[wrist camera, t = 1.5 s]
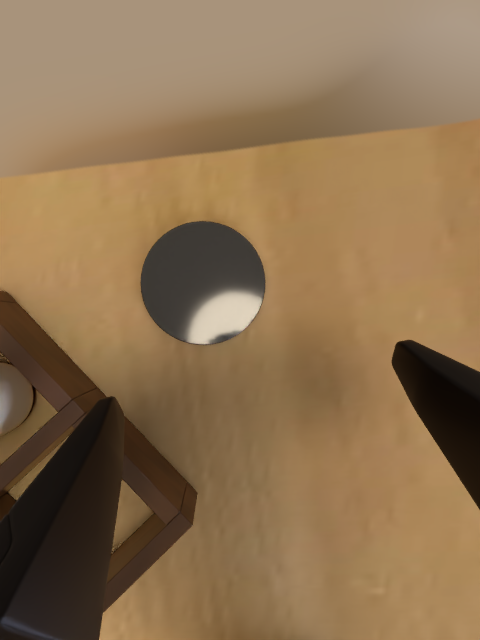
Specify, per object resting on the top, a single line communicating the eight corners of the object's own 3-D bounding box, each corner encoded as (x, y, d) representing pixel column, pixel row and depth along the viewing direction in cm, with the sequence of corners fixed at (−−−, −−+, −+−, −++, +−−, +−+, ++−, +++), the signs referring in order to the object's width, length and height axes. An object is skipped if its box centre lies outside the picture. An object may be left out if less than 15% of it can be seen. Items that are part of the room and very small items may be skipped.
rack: (197, 492, 24) (193, 525, 20) (87, 599, 23) (59, 655, 19) (6, 291, 23) (-38, 283, 19) (-112, 394, 23) (-183, 408, 19)
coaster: (279, 324, 25) (280, 324, 24) (161, 359, 24) (160, 360, 23) (245, 209, 25) (245, 207, 24) (127, 241, 24) (125, 239, 23)
